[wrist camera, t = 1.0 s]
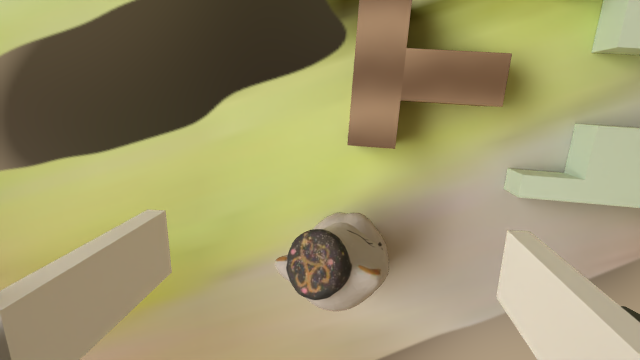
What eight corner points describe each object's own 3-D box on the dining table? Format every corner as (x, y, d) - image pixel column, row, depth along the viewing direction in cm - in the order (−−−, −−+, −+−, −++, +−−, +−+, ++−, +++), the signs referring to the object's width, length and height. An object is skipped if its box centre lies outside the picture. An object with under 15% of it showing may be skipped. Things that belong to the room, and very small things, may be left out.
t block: (359, 4, 31) (360, -10, 27) (500, 10, 30) (522, -4, 26) (348, 140, 33) (347, 145, 29) (477, 149, 32) (493, 156, 28)
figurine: (392, 193, 34) (419, 260, 19) (374, 284, 36) (386, 406, 22) (305, 178, 34) (268, 234, 20) (293, 269, 37) (251, 378, 22)
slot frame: (546, -34, 28) (567, -50, 25) (739, -29, 27) (785, -44, 24) (503, 188, 33) (518, 197, 30) (669, 202, 31) (700, 213, 29)
